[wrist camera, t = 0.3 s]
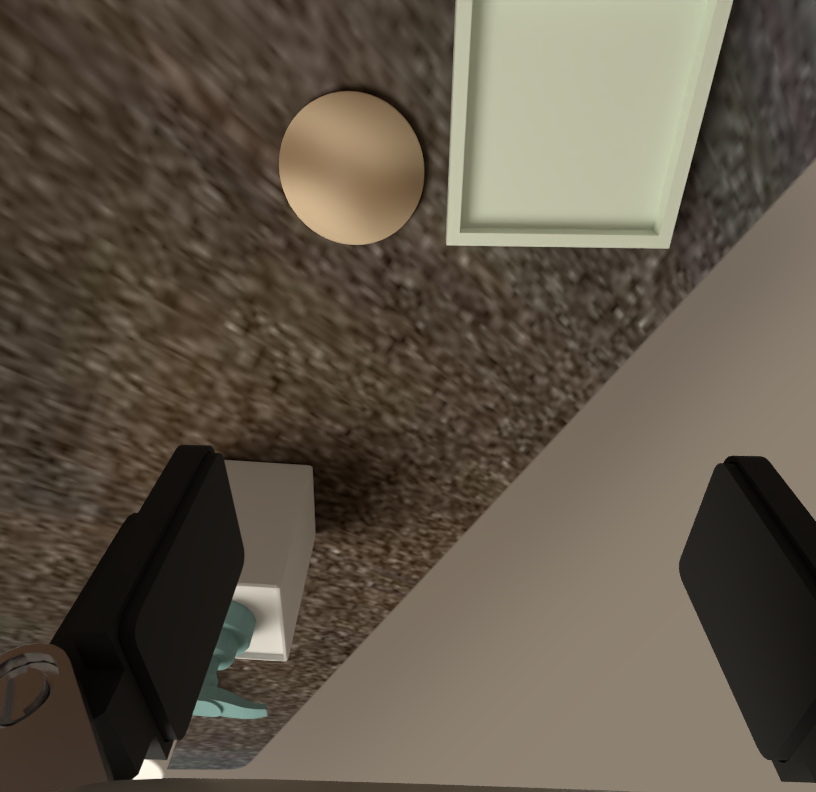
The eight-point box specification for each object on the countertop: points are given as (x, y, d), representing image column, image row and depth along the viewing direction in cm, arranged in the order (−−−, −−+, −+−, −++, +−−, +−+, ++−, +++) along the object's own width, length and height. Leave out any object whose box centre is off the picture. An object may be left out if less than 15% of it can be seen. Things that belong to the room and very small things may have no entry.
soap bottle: (318, 534, 54) (271, 751, 38) (224, 528, 54) (138, 742, 38) (315, 464, 49) (259, 677, 33) (212, 457, 49) (108, 667, 33)
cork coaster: (272, 90, 34) (270, 91, 33) (425, 91, 33) (425, 92, 33) (288, 241, 38) (287, 243, 38) (422, 243, 38) (422, 245, 38)
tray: (456, -26, 30) (457, -29, 29) (724, -25, 30) (740, -28, 28) (445, 236, 38) (446, 245, 36) (659, 239, 38) (668, 248, 36)
